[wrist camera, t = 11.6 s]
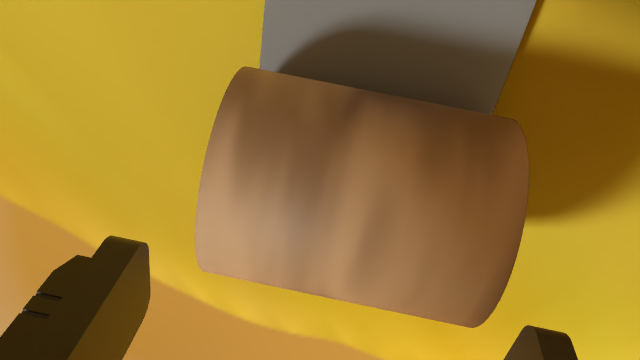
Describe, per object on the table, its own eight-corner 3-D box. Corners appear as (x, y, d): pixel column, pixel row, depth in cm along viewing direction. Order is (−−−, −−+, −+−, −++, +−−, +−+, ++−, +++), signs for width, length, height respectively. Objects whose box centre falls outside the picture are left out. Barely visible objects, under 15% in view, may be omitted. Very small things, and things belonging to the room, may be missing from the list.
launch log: (249, 192, 25) (194, 316, 19) (262, 37, 21) (195, 129, 14) (446, 232, 25) (461, 373, 18) (504, 84, 20) (551, 201, 14)
